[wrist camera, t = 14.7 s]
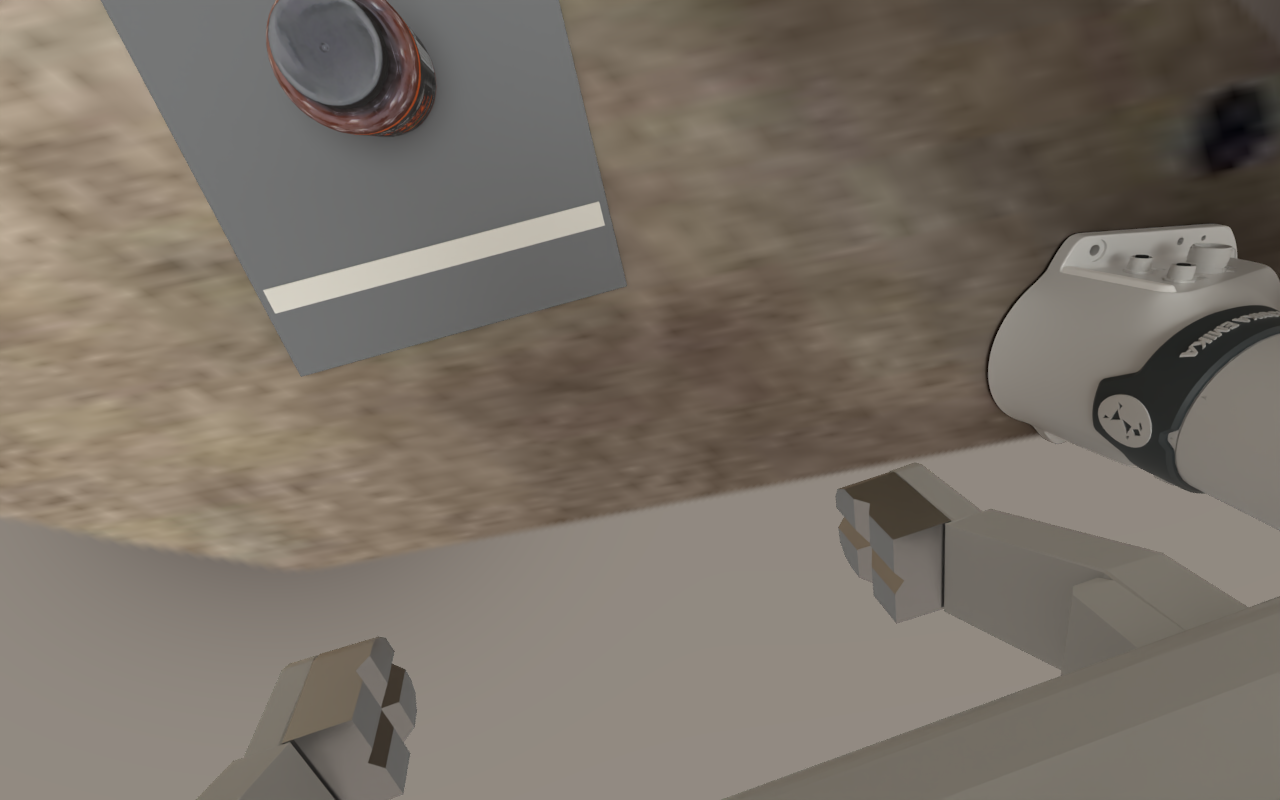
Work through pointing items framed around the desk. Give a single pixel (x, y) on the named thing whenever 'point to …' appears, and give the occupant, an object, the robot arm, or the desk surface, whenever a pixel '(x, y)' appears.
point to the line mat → (389, 175)
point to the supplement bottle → (351, 65)
